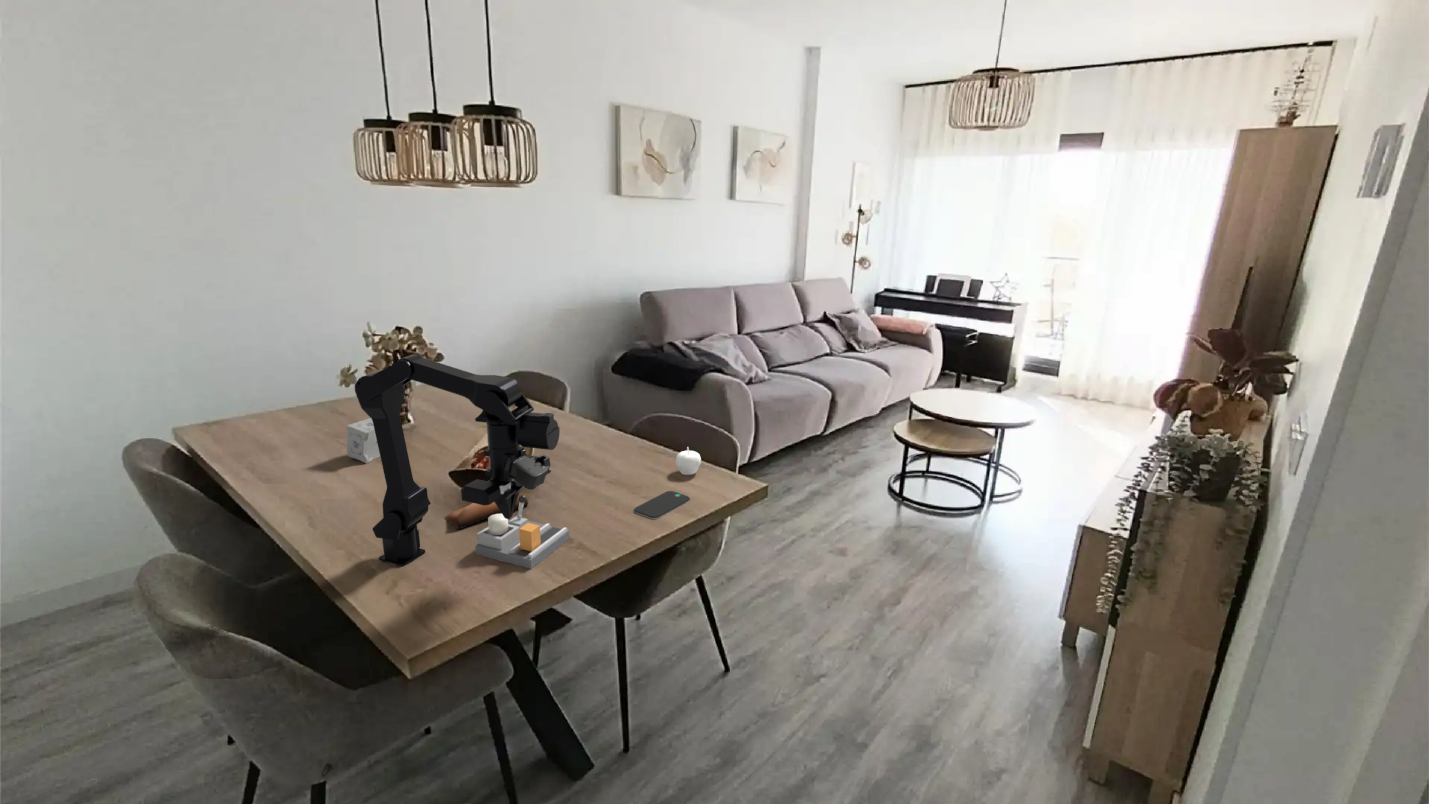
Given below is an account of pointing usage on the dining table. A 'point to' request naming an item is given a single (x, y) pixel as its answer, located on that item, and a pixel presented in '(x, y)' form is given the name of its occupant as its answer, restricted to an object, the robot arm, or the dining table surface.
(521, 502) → the toggle lever
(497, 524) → the button
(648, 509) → the smartphone
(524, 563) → the panel
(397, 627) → the dining table surface
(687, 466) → the plain white apple
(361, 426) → the white printed carton
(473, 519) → the sunglasses case
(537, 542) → the slider knob
